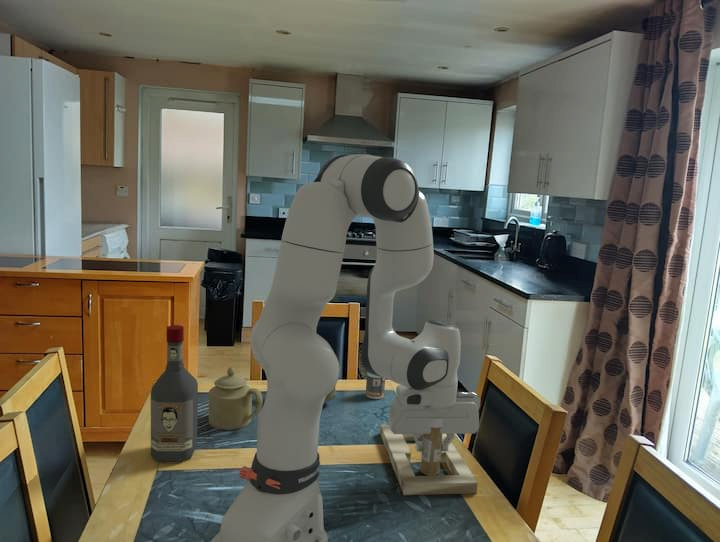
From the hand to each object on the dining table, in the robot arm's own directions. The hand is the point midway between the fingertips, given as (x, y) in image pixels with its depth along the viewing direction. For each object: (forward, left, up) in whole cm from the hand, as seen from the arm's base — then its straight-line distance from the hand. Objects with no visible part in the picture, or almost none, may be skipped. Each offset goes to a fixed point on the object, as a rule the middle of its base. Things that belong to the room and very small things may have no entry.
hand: (431, 450), depth 122 cm
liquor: (-27, +52, -6) cm, 59 cm away
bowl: (+16, +45, -6) cm, 48 cm away
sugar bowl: (-6, +52, -6) cm, 53 cm away
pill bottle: (+32, +31, -6) cm, 45 cm away
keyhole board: (+4, +3, -5) cm, 8 cm away
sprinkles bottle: (0, 0, -5) cm, 5 cm away
